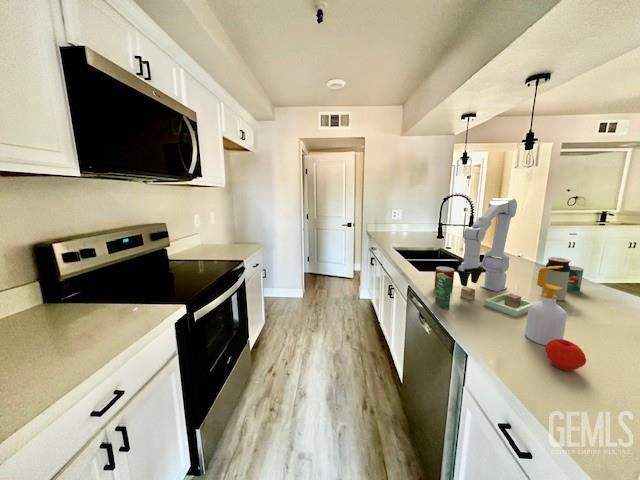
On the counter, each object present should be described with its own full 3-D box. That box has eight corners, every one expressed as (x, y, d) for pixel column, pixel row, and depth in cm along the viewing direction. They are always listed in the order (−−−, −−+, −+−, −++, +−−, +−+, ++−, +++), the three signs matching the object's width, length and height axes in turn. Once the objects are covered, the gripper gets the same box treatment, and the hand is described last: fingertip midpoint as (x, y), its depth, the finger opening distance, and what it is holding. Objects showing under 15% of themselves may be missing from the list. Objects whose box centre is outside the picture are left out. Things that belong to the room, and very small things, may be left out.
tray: (502, 299, 116) (503, 293, 115) (534, 309, 105) (535, 303, 105) (484, 305, 109) (484, 299, 109) (516, 317, 99) (517, 310, 98)
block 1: (466, 295, 121) (466, 286, 120) (474, 297, 118) (475, 289, 117) (460, 296, 119) (461, 288, 118) (469, 299, 116) (470, 291, 115)
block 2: (509, 302, 111) (510, 293, 110) (520, 305, 108) (521, 296, 107) (504, 304, 109) (505, 295, 108) (515, 307, 106) (516, 298, 105)
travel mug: (545, 299, 115) (551, 260, 112) (538, 293, 123) (544, 256, 120) (568, 302, 112) (575, 261, 109) (559, 295, 120) (566, 257, 117)
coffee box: (434, 301, 114) (436, 272, 112) (440, 301, 114) (443, 272, 112) (442, 309, 106) (445, 278, 104) (449, 309, 106) (452, 278, 104)
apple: (592, 376, 67) (597, 350, 65) (563, 378, 66) (568, 351, 65) (561, 357, 74) (565, 333, 73) (535, 358, 74) (539, 334, 73)
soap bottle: (553, 350, 78) (566, 271, 74) (519, 336, 86) (529, 263, 81) (567, 342, 82) (580, 267, 78) (533, 329, 90) (543, 260, 86)
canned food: (455, 293, 123) (457, 270, 121) (438, 293, 123) (440, 270, 121) (447, 287, 131) (449, 266, 129) (431, 287, 131) (433, 266, 129)
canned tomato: (577, 288, 129) (581, 267, 127) (582, 293, 123) (586, 270, 121) (556, 285, 133) (559, 264, 131) (559, 290, 127) (563, 268, 125)
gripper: (472, 251, 122) (469, 279, 124) (453, 254, 115) (450, 284, 117) (488, 254, 116) (485, 283, 118) (468, 257, 109) (465, 288, 111)
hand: (468, 284), depth 117 cm, fingers open, 7 cm apart
